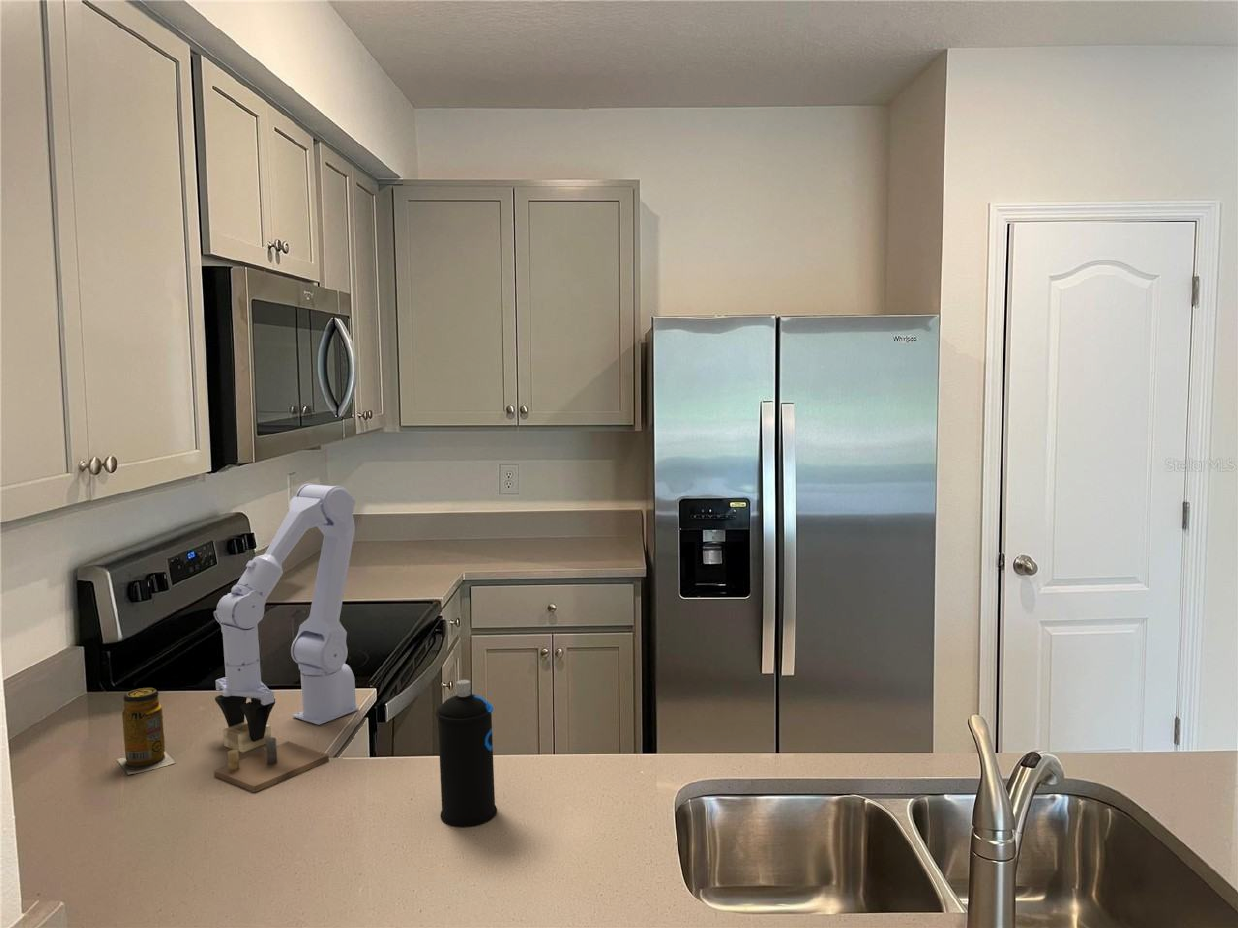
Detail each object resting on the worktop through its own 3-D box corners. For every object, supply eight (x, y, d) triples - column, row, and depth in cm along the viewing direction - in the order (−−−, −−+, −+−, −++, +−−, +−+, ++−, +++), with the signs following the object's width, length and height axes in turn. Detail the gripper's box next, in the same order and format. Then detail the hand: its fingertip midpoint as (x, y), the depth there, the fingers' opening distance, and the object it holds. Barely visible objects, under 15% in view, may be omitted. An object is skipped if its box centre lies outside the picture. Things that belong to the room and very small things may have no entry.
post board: (288, 746, 164) (286, 719, 163) (328, 760, 158) (327, 732, 157) (214, 776, 153) (212, 746, 152) (254, 792, 146) (252, 761, 146)
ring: (252, 735, 170) (251, 719, 169) (271, 741, 166) (270, 725, 166) (224, 745, 165) (223, 729, 165) (242, 752, 162) (241, 735, 162)
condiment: (162, 748, 165) (157, 682, 163) (175, 763, 158) (170, 694, 157) (116, 760, 160) (111, 692, 159) (128, 776, 154) (122, 705, 152)
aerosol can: (450, 832, 132) (444, 695, 130) (433, 809, 139) (427, 678, 137) (505, 818, 136) (500, 684, 134) (486, 796, 143) (481, 669, 141)
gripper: (197, 660, 165) (203, 734, 167) (246, 674, 157) (251, 752, 158) (234, 650, 171) (238, 722, 172) (282, 663, 163) (287, 738, 164)
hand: (247, 735), depth 166 cm, fingers closed on ring, 6 cm apart
